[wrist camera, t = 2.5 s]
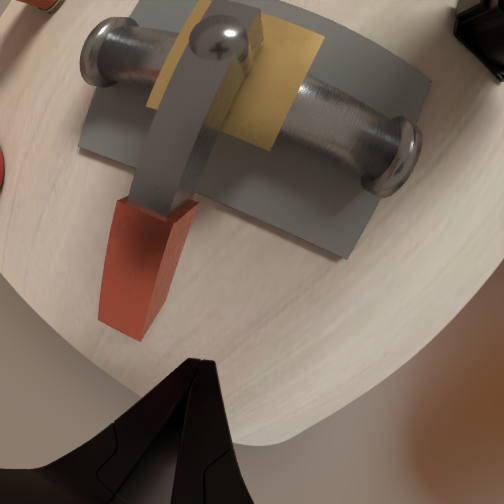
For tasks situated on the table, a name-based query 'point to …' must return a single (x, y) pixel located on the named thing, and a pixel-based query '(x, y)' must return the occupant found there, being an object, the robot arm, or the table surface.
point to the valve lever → (175, 166)
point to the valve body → (266, 96)
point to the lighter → (45, 4)
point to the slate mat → (283, 150)
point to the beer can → (1, 167)
